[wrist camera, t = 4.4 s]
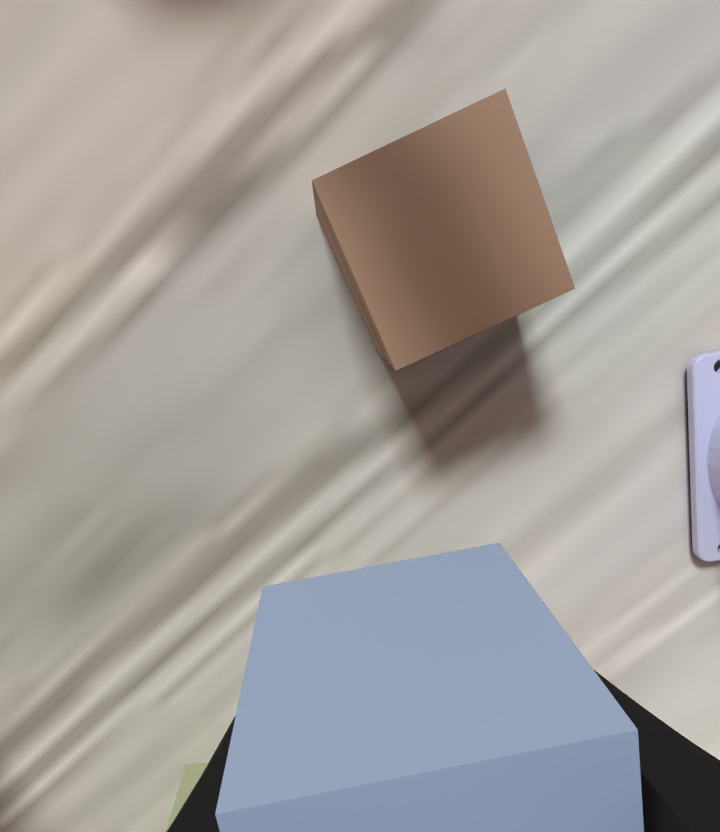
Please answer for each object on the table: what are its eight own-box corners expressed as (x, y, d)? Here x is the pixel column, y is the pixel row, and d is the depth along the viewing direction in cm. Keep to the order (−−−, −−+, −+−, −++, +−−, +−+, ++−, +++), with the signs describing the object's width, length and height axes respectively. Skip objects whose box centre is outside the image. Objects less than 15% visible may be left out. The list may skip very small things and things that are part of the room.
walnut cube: (455, 148, 17) (505, 88, 12) (509, 291, 18) (575, 288, 14) (316, 214, 18) (312, 180, 13) (378, 352, 19) (395, 370, 14)
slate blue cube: (499, 542, 11) (637, 730, 6) (523, 741, 12) (656, 1033, 7) (262, 586, 11) (214, 813, 6) (307, 784, 12) (297, 1111, 7)
